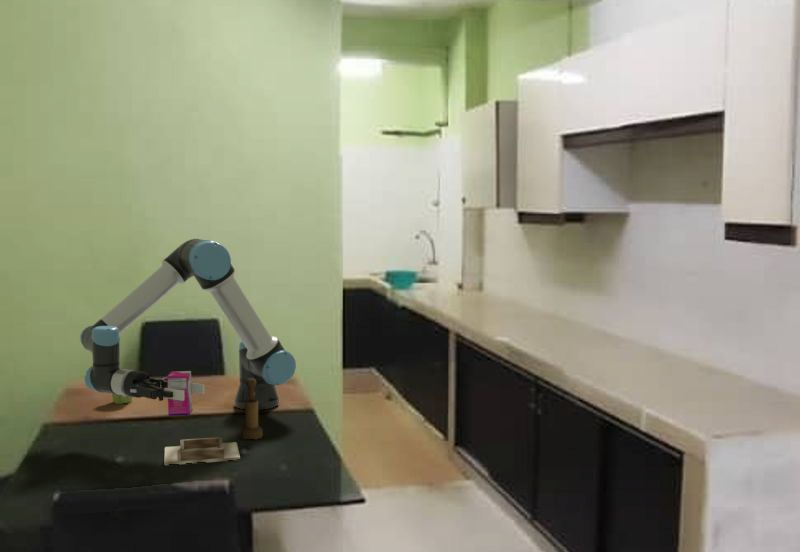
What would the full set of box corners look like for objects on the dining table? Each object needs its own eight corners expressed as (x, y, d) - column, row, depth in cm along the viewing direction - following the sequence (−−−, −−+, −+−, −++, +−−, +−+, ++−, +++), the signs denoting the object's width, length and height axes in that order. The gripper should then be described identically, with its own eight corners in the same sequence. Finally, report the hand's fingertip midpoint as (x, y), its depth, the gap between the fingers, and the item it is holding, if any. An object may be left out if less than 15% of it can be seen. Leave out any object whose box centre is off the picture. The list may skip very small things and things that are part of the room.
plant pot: (127, 406, 281) (127, 381, 281) (102, 404, 283) (102, 379, 282) (141, 399, 291) (141, 375, 290) (117, 397, 292) (116, 373, 292)
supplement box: (171, 410, 234) (171, 370, 232) (192, 410, 234) (192, 370, 233) (167, 416, 228) (166, 375, 227) (189, 415, 228) (188, 375, 227)
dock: (236, 444, 239) (236, 433, 239) (239, 459, 226) (239, 448, 226) (164, 449, 234) (164, 438, 234) (164, 465, 221) (164, 453, 220)
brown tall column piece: (266, 435, 249) (266, 376, 248) (256, 441, 243) (255, 381, 241) (247, 432, 252) (246, 374, 250) (236, 438, 245) (235, 379, 244)
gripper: (156, 388, 248) (217, 397, 238) (104, 404, 229) (168, 414, 219) (156, 364, 247) (217, 372, 237) (104, 377, 229) (167, 386, 219)
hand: (193, 392), depth 228 cm, fingers closed on supplement box, 8 cm apart
